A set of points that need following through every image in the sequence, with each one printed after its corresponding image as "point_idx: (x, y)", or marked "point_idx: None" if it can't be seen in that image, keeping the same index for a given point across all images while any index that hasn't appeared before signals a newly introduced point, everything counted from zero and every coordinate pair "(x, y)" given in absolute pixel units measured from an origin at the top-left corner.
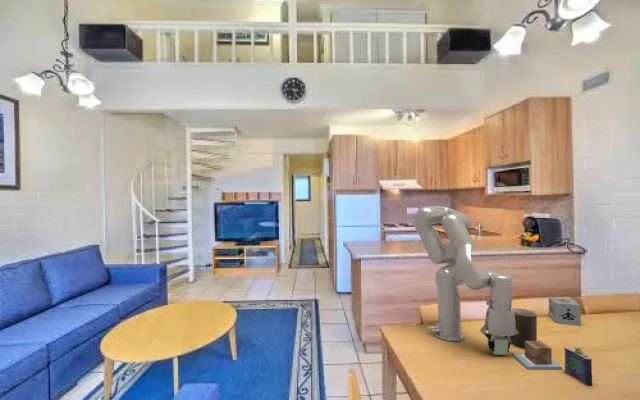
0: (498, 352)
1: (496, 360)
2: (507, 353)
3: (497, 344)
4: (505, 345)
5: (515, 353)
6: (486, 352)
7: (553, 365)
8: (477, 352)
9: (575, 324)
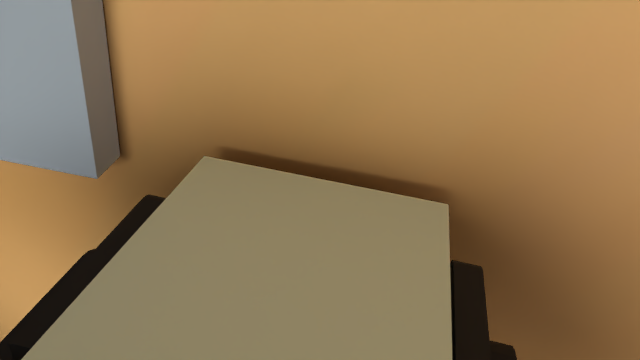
0: (368, 216)
1: (523, 59)
2: (195, 171)
3: (383, 356)
4: (167, 287)
5: (47, 157)
6: None
7: None
8: (629, 343)
9: None
